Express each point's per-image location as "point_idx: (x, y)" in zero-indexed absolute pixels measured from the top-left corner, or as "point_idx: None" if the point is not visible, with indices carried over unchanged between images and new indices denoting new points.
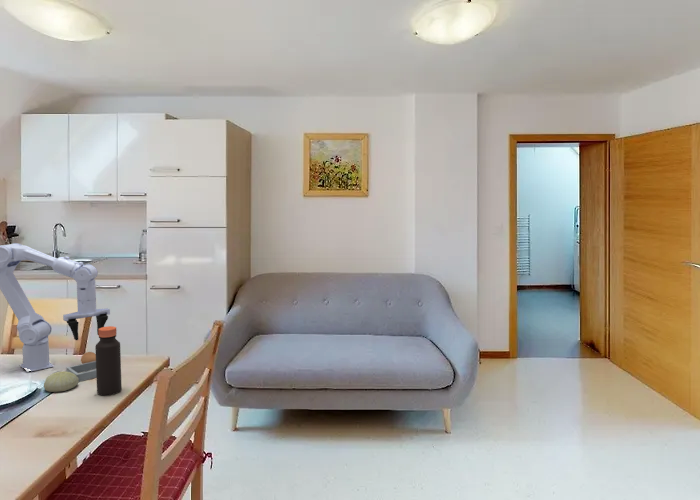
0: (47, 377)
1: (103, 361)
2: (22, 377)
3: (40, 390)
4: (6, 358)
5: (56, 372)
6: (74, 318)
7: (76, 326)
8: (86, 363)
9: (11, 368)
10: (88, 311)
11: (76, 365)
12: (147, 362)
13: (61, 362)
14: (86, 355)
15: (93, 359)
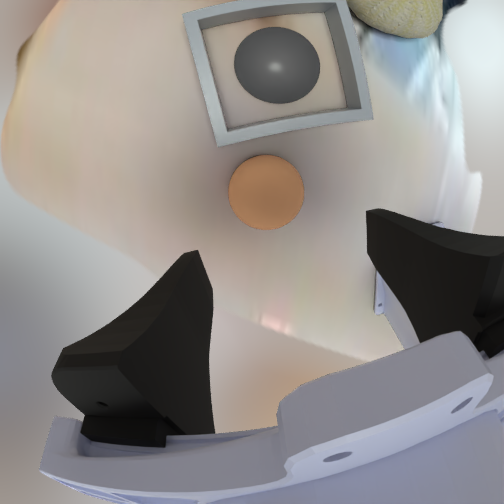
0: (441, 11)
1: None
2: (457, 185)
3: None
4: None
5: (425, 1)
6: (501, 347)
7: (462, 243)
8: (286, 123)
9: None
10: (446, 486)
11: (333, 118)
12: (43, 124)
13: (343, 278)
14: (284, 178)
15: (248, 160)
